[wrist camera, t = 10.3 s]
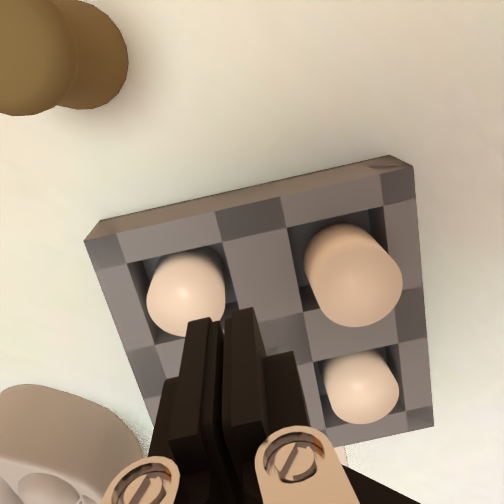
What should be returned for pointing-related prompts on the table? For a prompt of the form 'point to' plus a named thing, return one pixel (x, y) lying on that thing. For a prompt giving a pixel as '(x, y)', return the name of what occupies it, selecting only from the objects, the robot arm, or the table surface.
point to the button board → (279, 282)
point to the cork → (58, 56)
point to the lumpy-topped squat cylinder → (59, 447)
